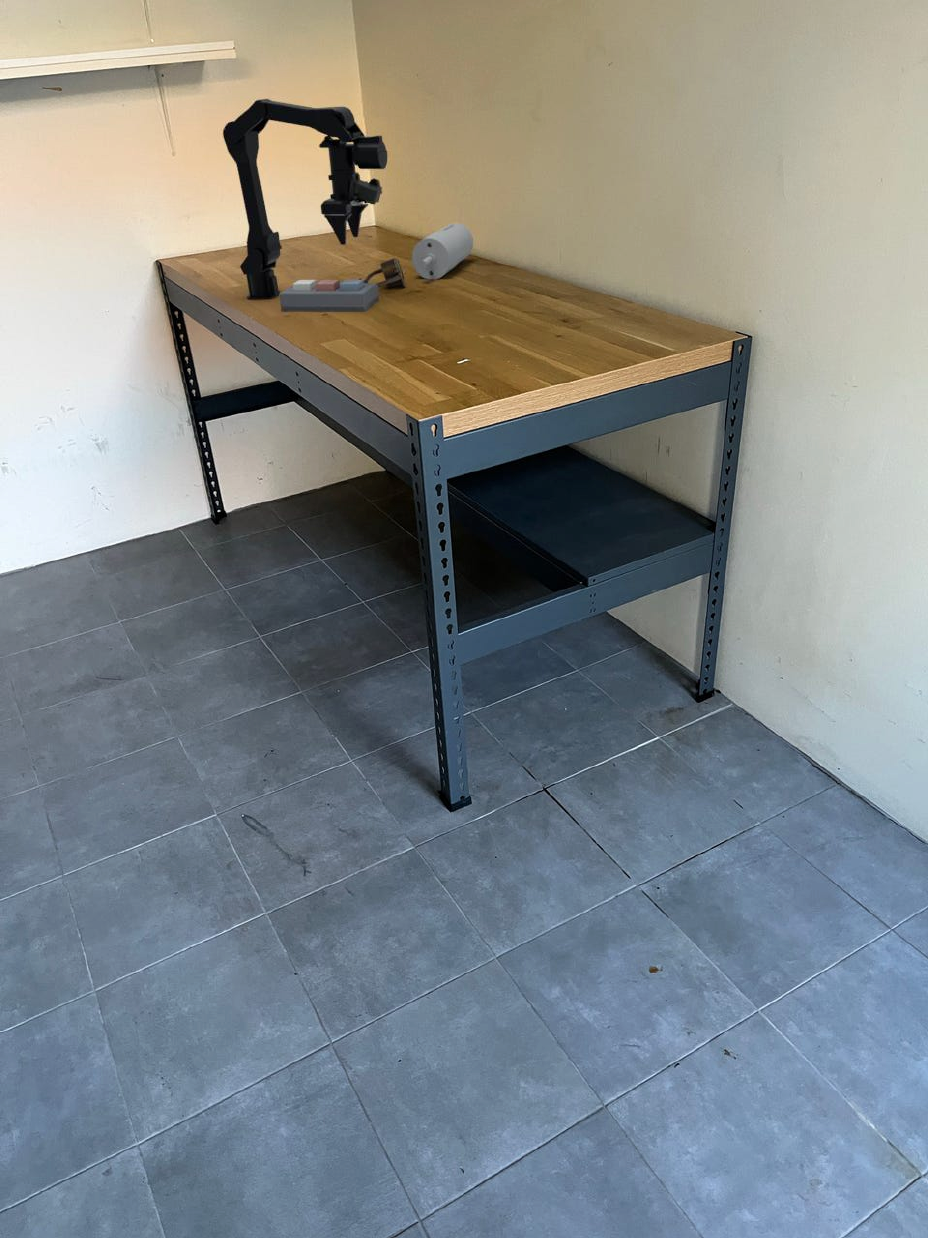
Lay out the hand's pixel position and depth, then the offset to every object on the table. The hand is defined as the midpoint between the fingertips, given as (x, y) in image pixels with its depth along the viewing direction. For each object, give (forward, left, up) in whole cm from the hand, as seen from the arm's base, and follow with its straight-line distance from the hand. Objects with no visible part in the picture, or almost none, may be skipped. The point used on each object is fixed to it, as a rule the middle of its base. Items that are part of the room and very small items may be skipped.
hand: (349, 240), depth 224 cm
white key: (-10, -7, -11) cm, 16 cm away
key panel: (-4, -7, -13) cm, 16 cm away
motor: (+15, +32, -14) cm, 38 cm away
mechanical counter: (+3, +12, -14) cm, 18 cm away
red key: (-4, -7, -11) cm, 14 cm away
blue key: (+2, -7, -11) cm, 13 cm away
